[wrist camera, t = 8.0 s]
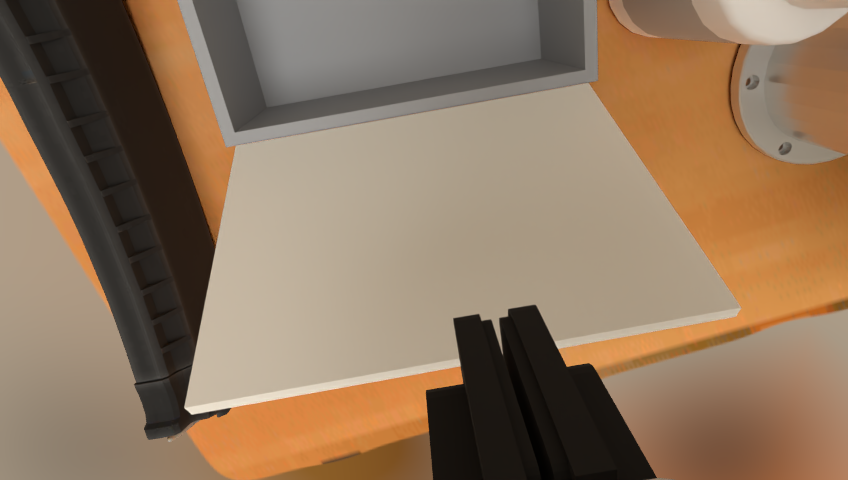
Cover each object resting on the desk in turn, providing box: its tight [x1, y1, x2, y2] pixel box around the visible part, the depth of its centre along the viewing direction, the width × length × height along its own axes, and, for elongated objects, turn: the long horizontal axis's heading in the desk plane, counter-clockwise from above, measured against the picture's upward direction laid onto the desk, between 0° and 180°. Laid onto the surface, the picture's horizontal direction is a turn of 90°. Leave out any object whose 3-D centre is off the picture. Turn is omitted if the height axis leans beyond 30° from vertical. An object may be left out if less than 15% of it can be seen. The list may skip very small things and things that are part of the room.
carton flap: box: [184, 83, 741, 415], centre depth 20 cm, size 17×13×1 cm
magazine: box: [0, 0, 231, 442], centre depth 27 cm, size 17×3×30 cm
